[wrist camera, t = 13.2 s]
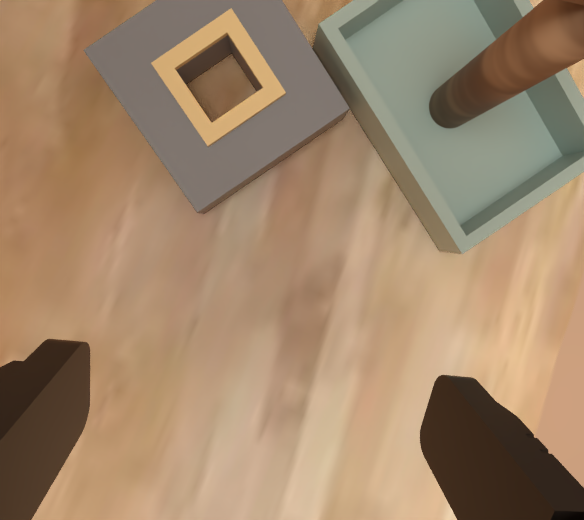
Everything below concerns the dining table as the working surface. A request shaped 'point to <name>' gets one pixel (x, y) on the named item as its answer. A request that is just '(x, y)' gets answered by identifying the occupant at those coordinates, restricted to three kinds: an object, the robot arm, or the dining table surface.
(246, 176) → the plate
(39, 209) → the dining table surface
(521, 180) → the tray
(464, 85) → the t key
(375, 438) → the dining table surface
